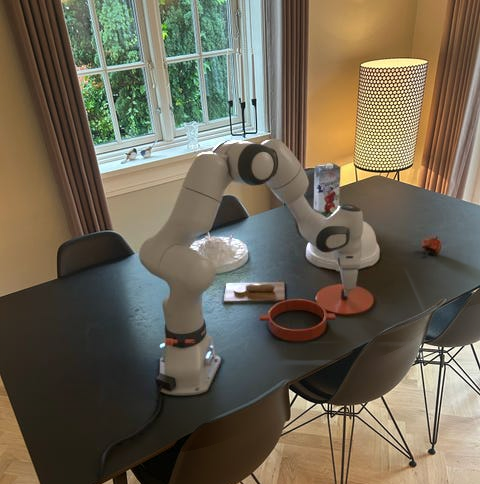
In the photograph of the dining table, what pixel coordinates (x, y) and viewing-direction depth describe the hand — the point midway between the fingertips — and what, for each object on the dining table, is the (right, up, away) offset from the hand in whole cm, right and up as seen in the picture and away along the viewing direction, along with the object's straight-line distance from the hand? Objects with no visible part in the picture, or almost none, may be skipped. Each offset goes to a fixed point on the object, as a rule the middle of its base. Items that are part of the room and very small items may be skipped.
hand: (345, 288), depth 174 cm
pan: (-18, -13, -8) cm, 23 cm away
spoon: (-31, 0, +10) cm, 32 cm away
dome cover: (+6, +16, +33) cm, 37 cm away
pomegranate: (+40, +15, +28) cm, 52 cm away
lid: (0, -4, +2) cm, 5 cm away
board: (-31, -1, +10) cm, 33 cm away
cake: (-47, +15, +37) cm, 62 cm away
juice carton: (+4, +37, +64) cm, 74 cm away
